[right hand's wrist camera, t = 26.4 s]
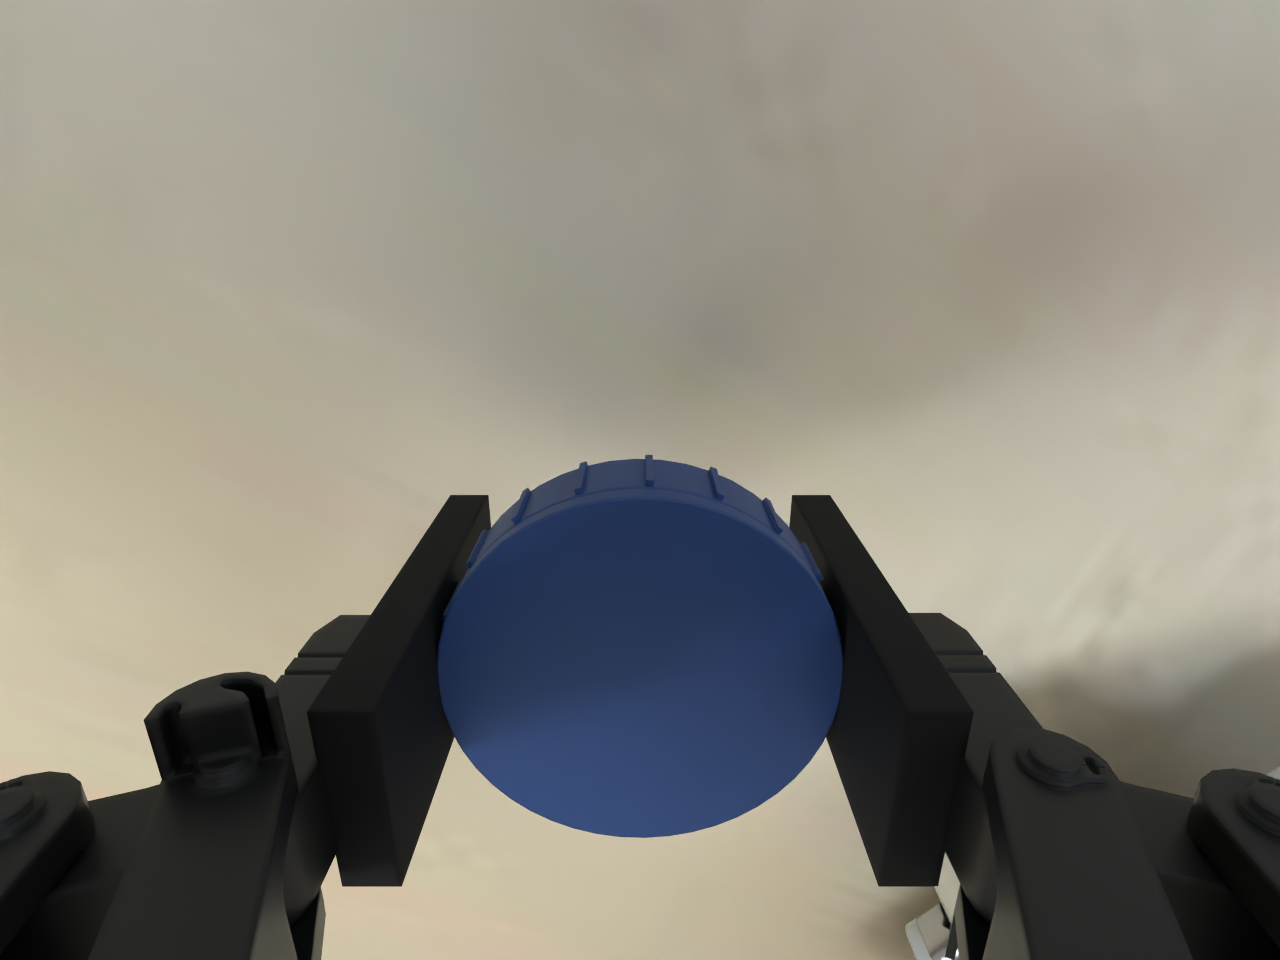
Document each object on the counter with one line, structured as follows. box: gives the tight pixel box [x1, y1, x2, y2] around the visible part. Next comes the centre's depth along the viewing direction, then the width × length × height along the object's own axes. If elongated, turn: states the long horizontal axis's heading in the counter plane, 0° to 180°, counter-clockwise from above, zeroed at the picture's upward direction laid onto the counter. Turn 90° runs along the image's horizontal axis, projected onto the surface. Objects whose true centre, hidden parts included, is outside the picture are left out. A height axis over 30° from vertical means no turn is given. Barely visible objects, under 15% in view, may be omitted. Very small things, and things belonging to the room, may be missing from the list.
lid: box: [437, 455, 844, 838], centre depth 11 cm, size 6×6×2 cm
